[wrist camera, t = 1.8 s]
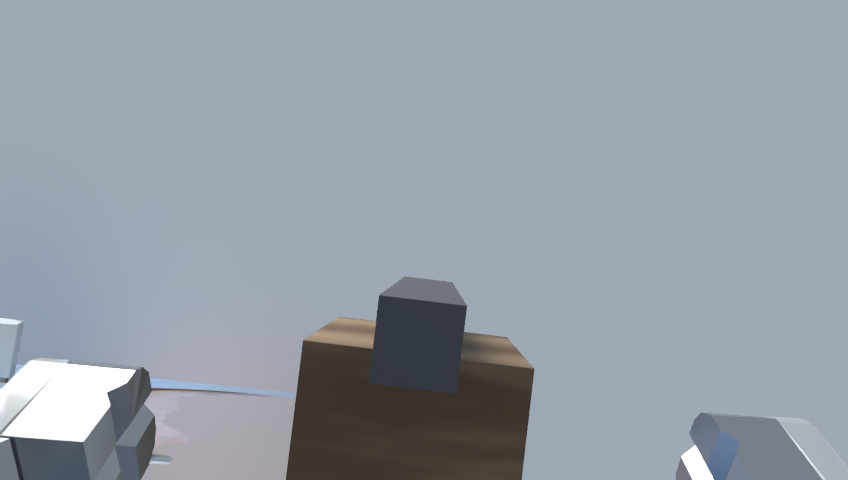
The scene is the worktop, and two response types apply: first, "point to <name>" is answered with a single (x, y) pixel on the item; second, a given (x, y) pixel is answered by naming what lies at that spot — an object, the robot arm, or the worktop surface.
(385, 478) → the walnut stand
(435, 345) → the long grey square rod
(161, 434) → the worktop surface
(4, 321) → the skincare box
